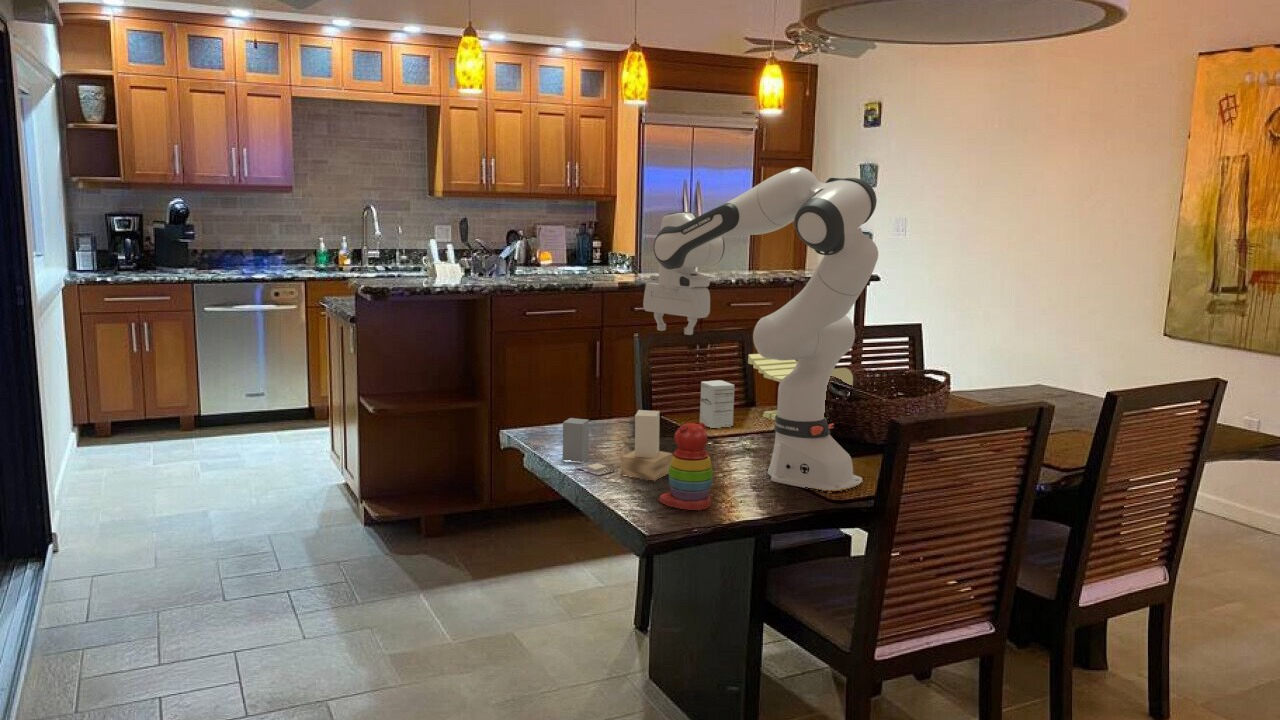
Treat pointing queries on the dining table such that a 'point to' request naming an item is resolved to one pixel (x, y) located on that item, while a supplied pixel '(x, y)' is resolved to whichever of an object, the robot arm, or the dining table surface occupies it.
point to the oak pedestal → (646, 465)
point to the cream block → (647, 433)
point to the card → (599, 467)
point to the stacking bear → (689, 470)
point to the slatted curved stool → (787, 372)
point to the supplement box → (717, 404)
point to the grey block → (575, 439)
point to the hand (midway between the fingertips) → (674, 332)
